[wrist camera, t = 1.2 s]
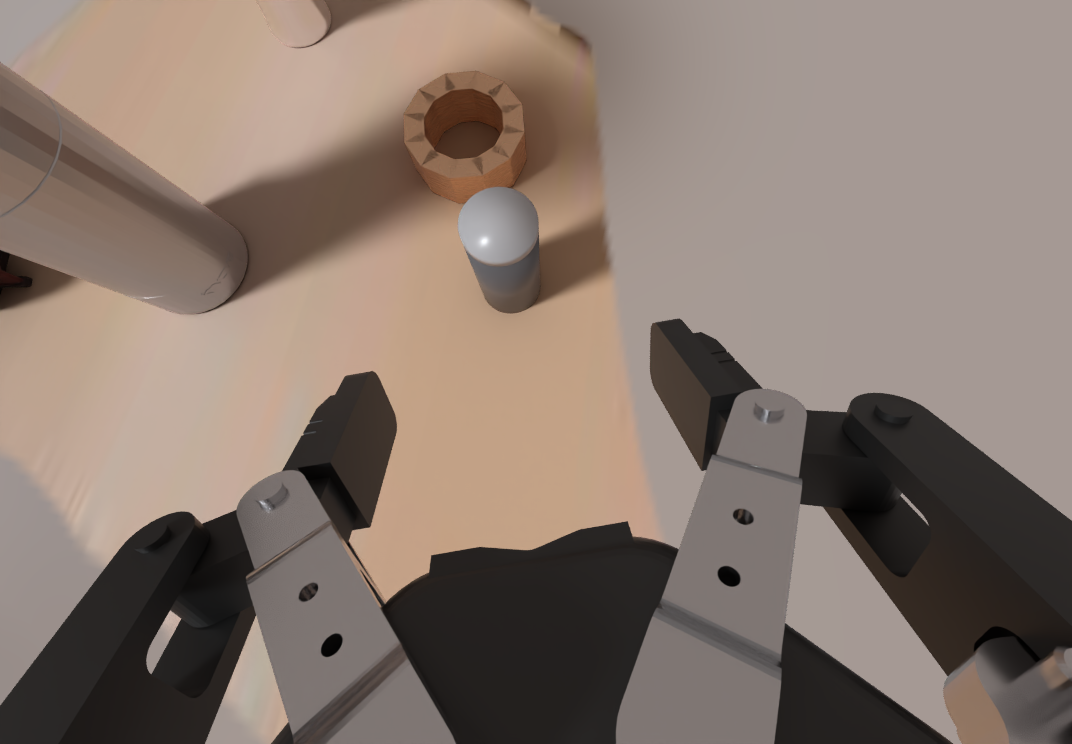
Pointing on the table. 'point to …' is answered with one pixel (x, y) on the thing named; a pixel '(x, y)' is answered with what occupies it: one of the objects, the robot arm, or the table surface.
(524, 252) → the plug
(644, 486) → the table surface
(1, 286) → the mate gourd
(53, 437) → the table surface
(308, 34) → the beer glass
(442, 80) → the wooden polygonal ring
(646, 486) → the table surface
